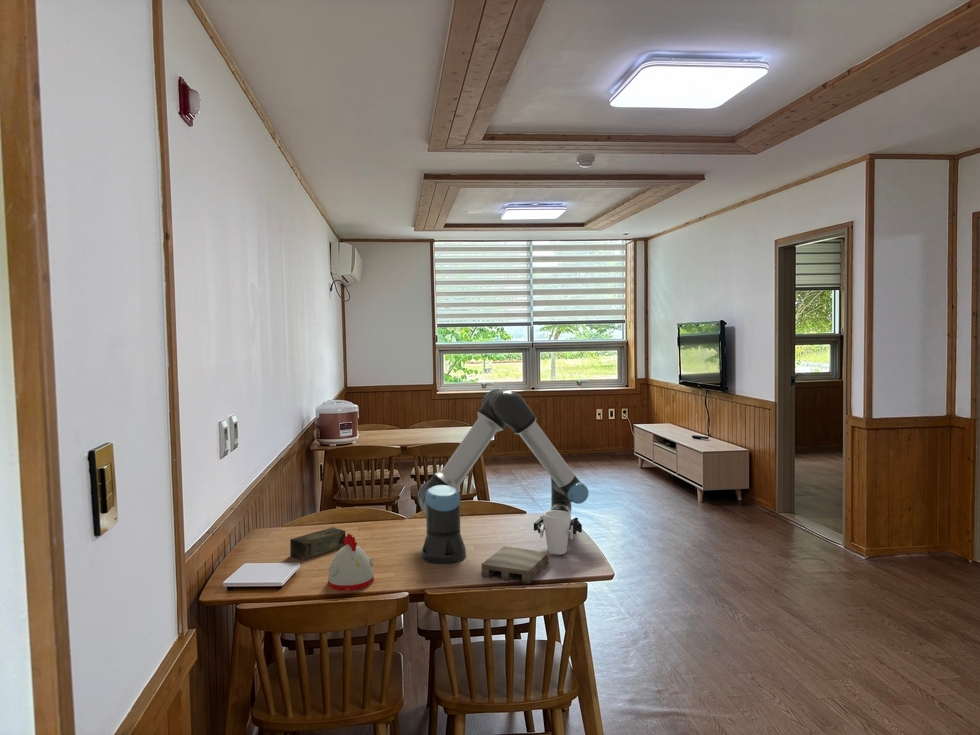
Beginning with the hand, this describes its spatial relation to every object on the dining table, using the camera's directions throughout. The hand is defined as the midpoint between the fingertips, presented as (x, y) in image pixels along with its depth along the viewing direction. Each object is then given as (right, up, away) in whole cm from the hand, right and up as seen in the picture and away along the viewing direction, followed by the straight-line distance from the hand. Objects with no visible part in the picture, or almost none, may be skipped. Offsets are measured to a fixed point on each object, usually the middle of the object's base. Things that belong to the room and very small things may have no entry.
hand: (556, 534), depth 211 cm
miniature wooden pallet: (-14, -9, -8) cm, 19 cm away
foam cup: (+1, -7, +5) cm, 9 cm away
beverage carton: (-84, -10, +14) cm, 85 cm away
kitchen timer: (-66, -11, -16) cm, 68 cm away
